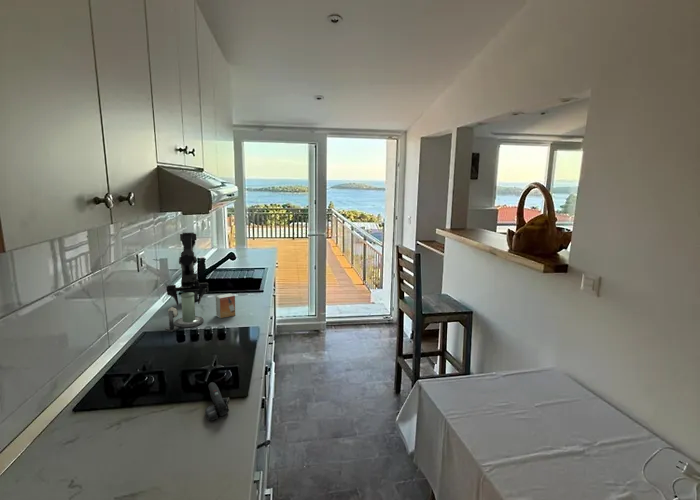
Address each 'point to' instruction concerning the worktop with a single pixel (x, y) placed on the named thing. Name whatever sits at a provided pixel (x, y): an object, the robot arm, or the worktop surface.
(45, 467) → the worktop surface
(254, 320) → the worktop surface
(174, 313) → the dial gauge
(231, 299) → the small box
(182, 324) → the platter
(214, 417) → the can opener
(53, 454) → the worktop surface
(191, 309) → the canister
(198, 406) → the worktop surface
